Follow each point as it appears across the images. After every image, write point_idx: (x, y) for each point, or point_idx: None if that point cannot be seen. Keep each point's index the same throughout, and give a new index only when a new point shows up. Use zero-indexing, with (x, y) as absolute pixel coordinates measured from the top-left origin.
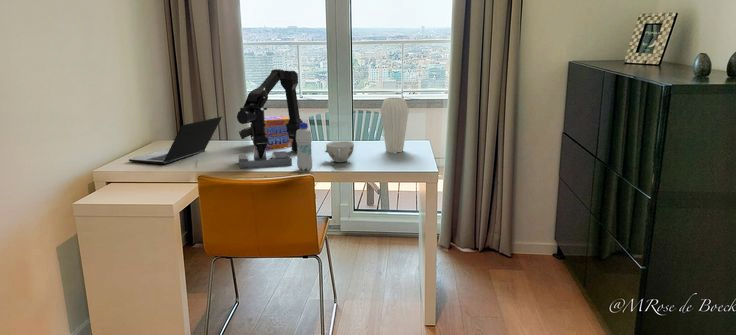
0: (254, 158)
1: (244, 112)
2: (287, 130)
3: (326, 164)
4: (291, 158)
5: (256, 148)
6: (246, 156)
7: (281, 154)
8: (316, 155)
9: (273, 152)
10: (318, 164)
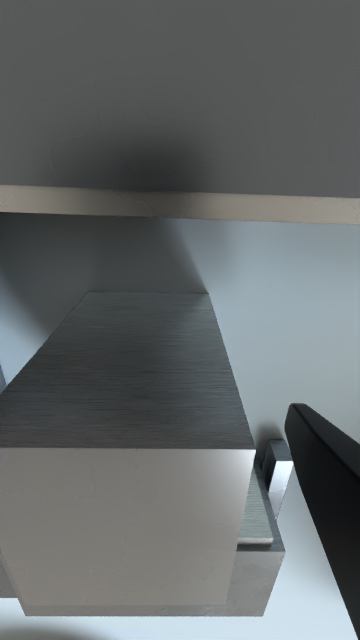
0: (97, 326)
1: None
2: None
3: (27, 635)
4: (5, 597)
5: (146, 500)
6: (112, 199)
7: None
8: (284, 632)
9: (258, 549)
10: (33, 616)
